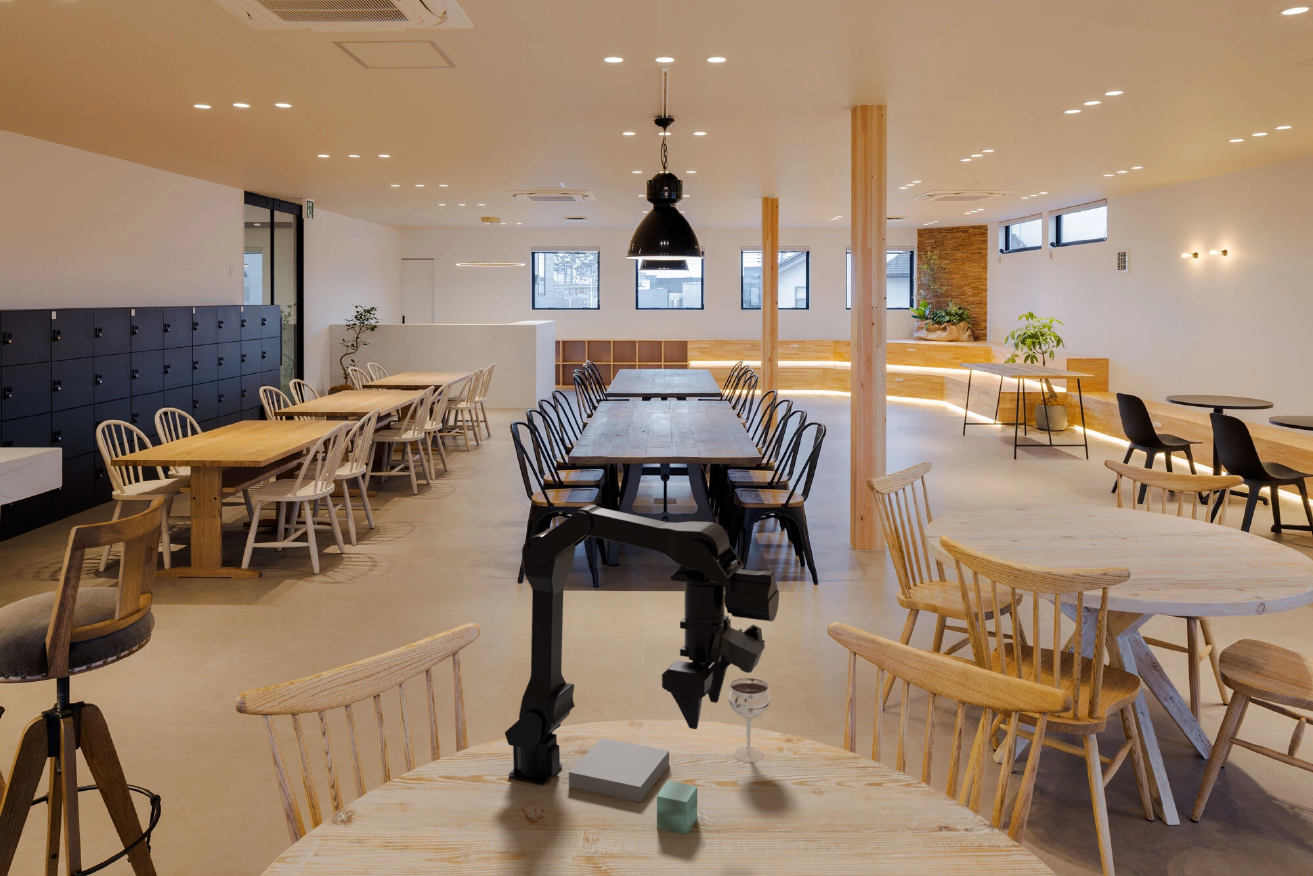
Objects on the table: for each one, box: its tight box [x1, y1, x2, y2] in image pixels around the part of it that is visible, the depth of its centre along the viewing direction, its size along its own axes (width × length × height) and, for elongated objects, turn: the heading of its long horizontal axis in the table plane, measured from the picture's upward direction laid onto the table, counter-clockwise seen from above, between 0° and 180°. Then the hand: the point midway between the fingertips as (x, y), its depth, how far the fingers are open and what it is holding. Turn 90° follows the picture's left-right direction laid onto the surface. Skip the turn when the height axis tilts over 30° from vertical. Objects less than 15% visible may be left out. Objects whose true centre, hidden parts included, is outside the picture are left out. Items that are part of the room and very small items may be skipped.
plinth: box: [568, 737, 670, 803], centre depth 143 cm, size 12×12×2 cm
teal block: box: [656, 780, 698, 836], centre depth 130 cm, size 4×4×5 cm
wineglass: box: [728, 677, 771, 763], centre depth 149 cm, size 7×7×12 cm
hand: (704, 714), depth 132 cm, fingers open, 9 cm apart
